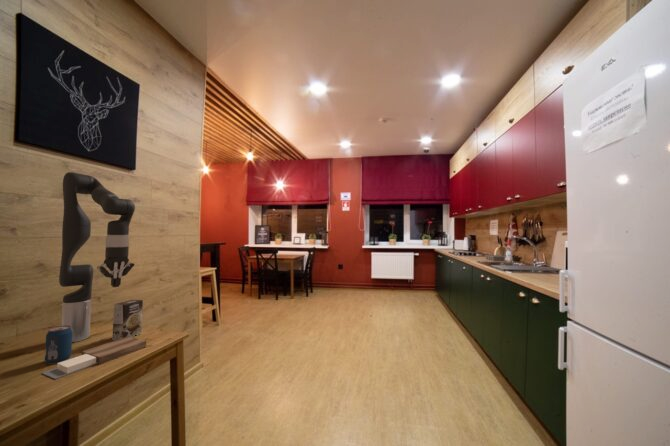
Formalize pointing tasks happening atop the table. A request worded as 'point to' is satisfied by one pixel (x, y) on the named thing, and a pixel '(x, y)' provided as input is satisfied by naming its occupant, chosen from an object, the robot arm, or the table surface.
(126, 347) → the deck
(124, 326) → the coffee box
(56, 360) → the soda can
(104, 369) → the table surface
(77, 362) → the tile
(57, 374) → the mat
